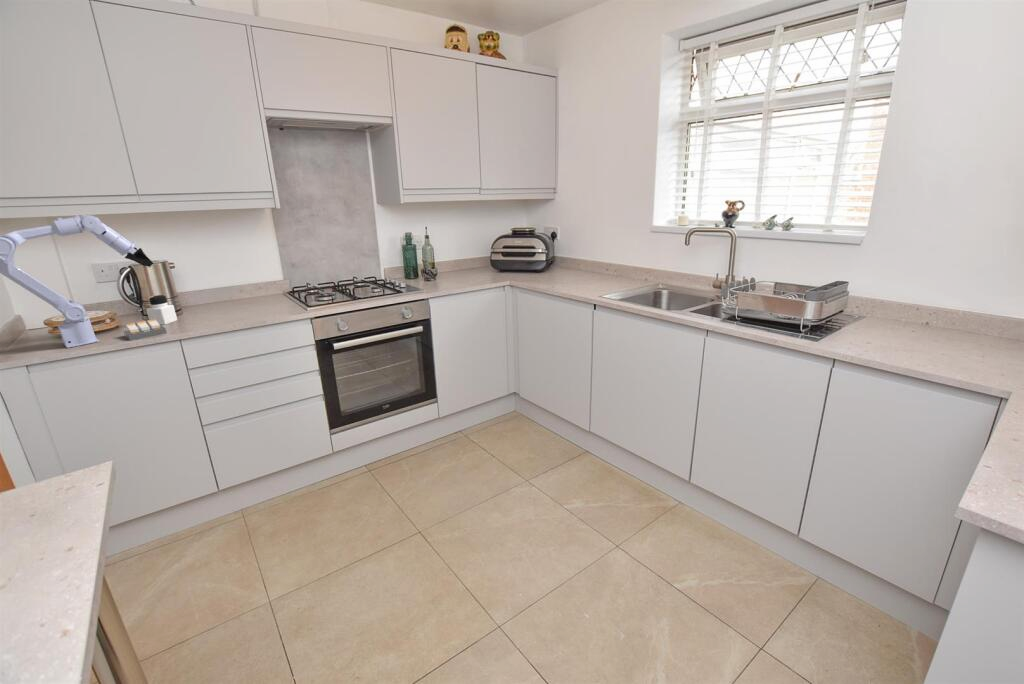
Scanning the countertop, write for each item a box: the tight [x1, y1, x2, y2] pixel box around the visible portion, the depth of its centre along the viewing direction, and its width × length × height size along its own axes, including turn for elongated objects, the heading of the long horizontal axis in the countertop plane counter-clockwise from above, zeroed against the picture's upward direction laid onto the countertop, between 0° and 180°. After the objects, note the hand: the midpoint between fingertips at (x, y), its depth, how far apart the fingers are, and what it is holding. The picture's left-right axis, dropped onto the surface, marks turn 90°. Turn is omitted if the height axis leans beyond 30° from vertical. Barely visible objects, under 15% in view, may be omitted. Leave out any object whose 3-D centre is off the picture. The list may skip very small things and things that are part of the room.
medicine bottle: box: [146, 294, 178, 326], centre depth 205 cm, size 7×7×12 cm
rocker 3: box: [146, 319, 160, 329], centre depth 190 cm, size 3×6×1 cm, turn 48°
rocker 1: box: [125, 322, 139, 333], centre depth 185 cm, size 3×6×1 cm, turn 48°
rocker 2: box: [136, 320, 150, 331], centre depth 188 cm, size 3×6×1 cm, turn 48°
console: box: [122, 325, 168, 341], centre depth 189 cm, size 12×10×2 cm
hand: (149, 265), depth 190 cm, fingers open, 7 cm apart
